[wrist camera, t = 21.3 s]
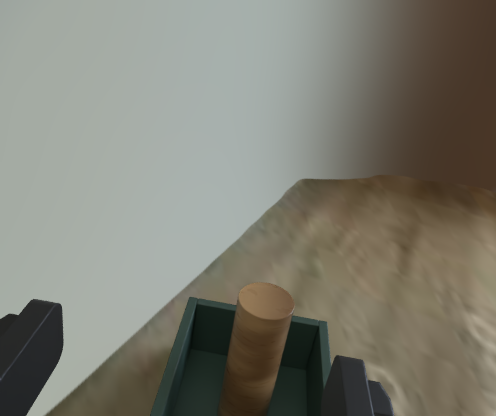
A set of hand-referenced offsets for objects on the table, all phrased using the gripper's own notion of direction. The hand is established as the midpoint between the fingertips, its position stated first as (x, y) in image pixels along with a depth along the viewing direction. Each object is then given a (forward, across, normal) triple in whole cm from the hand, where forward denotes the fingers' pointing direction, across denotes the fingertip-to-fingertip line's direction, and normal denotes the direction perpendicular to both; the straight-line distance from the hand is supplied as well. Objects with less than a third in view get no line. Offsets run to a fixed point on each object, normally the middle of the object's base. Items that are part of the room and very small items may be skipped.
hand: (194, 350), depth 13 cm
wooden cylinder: (+16, -3, +22) cm, 27 cm away
